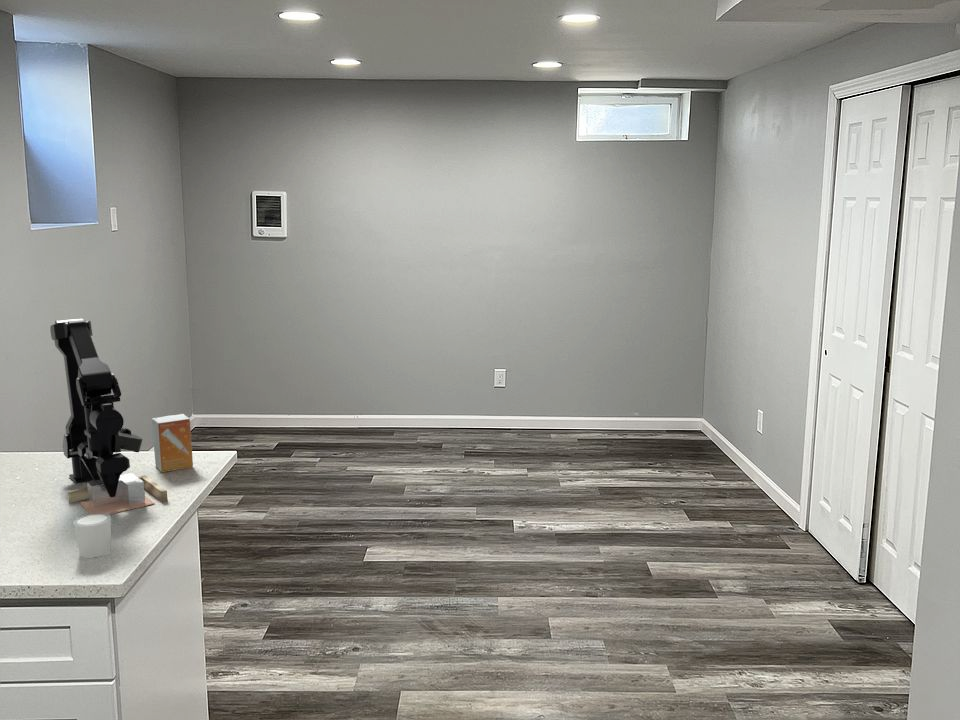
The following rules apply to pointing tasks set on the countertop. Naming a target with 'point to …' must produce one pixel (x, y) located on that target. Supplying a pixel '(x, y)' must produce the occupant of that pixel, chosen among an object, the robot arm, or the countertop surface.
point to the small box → (172, 442)
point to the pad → (114, 507)
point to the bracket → (127, 491)
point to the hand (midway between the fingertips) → (106, 491)
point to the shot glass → (93, 535)
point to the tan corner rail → (148, 483)
